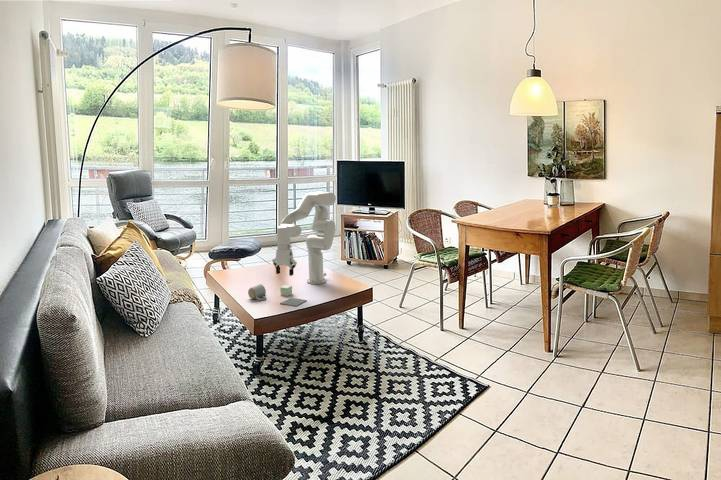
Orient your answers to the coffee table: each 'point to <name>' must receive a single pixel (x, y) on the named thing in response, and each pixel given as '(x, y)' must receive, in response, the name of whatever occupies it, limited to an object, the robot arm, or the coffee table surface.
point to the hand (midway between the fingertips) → (284, 274)
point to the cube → (286, 290)
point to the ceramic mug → (257, 292)
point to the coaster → (293, 302)
